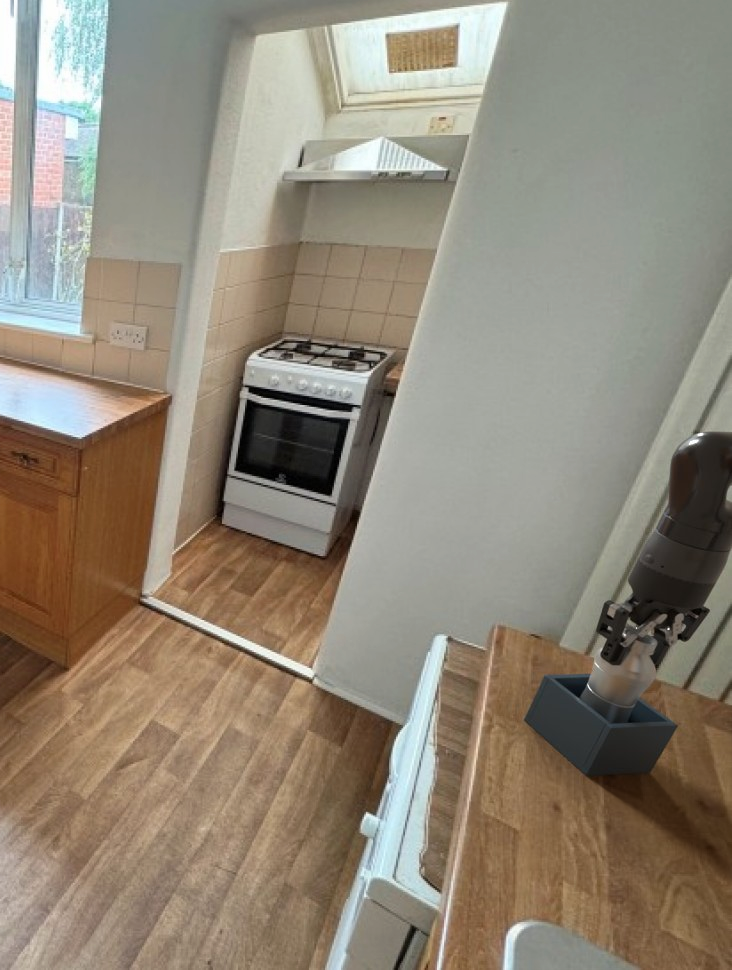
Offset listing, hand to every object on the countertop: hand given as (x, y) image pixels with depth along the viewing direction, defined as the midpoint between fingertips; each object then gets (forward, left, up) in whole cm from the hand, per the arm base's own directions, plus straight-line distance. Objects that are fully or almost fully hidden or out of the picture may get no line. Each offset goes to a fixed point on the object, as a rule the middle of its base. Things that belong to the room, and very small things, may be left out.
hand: (628, 660), depth 90 cm
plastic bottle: (0, 0, -16) cm, 16 cm away
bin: (0, 0, -17) cm, 17 cm away
